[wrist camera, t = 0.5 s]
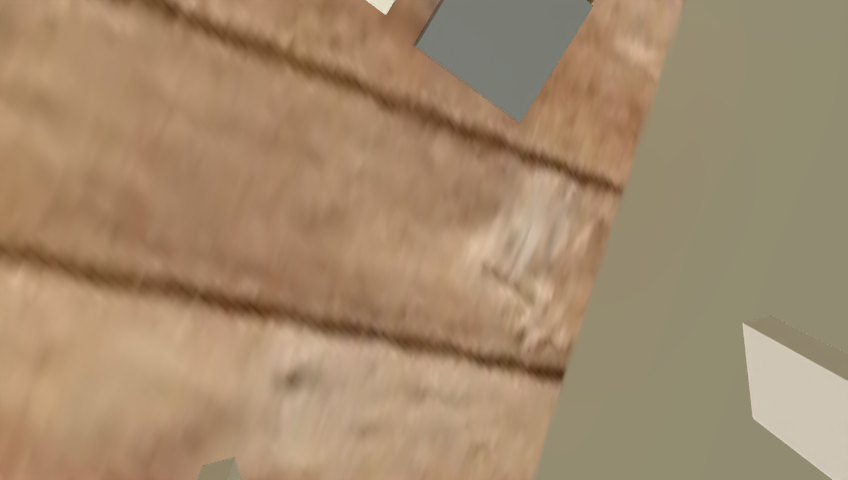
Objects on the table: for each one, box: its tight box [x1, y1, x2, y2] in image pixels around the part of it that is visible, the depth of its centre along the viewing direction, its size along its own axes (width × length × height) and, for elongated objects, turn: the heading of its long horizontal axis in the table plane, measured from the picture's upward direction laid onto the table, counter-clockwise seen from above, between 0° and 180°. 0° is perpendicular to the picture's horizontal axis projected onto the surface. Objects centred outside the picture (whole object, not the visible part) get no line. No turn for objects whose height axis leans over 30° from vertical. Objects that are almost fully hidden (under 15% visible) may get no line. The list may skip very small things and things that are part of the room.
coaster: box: [413, 0, 593, 122], centre depth 41 cm, size 9×9×1 cm
